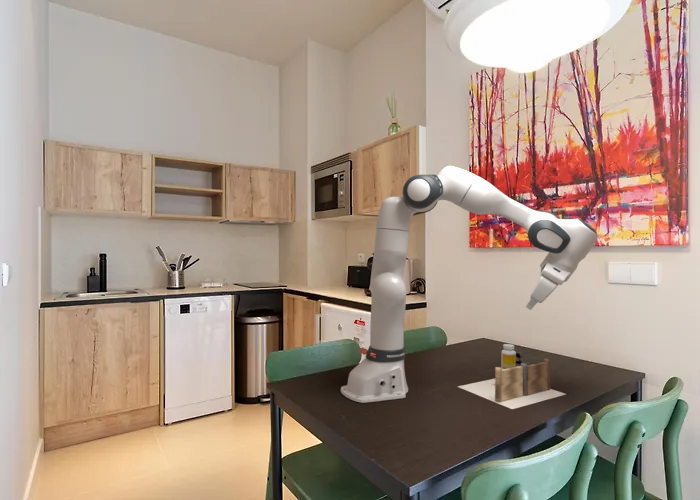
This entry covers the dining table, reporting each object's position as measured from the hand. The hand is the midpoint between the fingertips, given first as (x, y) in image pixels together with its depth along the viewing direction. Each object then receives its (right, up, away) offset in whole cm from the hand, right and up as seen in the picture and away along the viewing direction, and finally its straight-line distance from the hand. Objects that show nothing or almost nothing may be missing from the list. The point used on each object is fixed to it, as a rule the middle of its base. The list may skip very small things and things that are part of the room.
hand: (530, 303), depth 130 cm
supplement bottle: (+4, -30, +28) cm, 41 cm away
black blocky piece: (+12, -30, +40) cm, 51 cm away
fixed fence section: (+2, -29, +2) cm, 29 cm away
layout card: (-5, -29, +3) cm, 30 cm away
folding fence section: (-9, -29, -5) cm, 30 cm away
